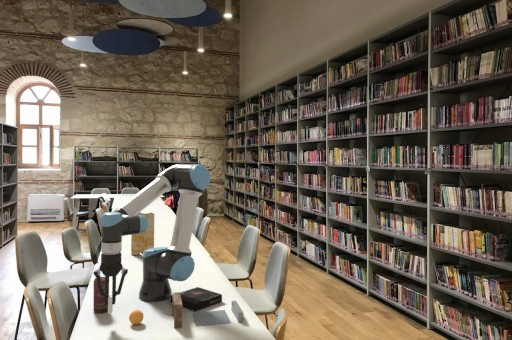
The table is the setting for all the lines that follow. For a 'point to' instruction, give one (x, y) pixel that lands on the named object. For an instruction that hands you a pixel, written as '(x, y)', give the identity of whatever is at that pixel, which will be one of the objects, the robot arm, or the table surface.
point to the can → (99, 298)
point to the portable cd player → (199, 298)
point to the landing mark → (211, 317)
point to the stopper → (237, 311)
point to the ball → (136, 317)
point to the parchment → (143, 237)
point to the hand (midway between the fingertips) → (110, 312)
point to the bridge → (177, 309)
